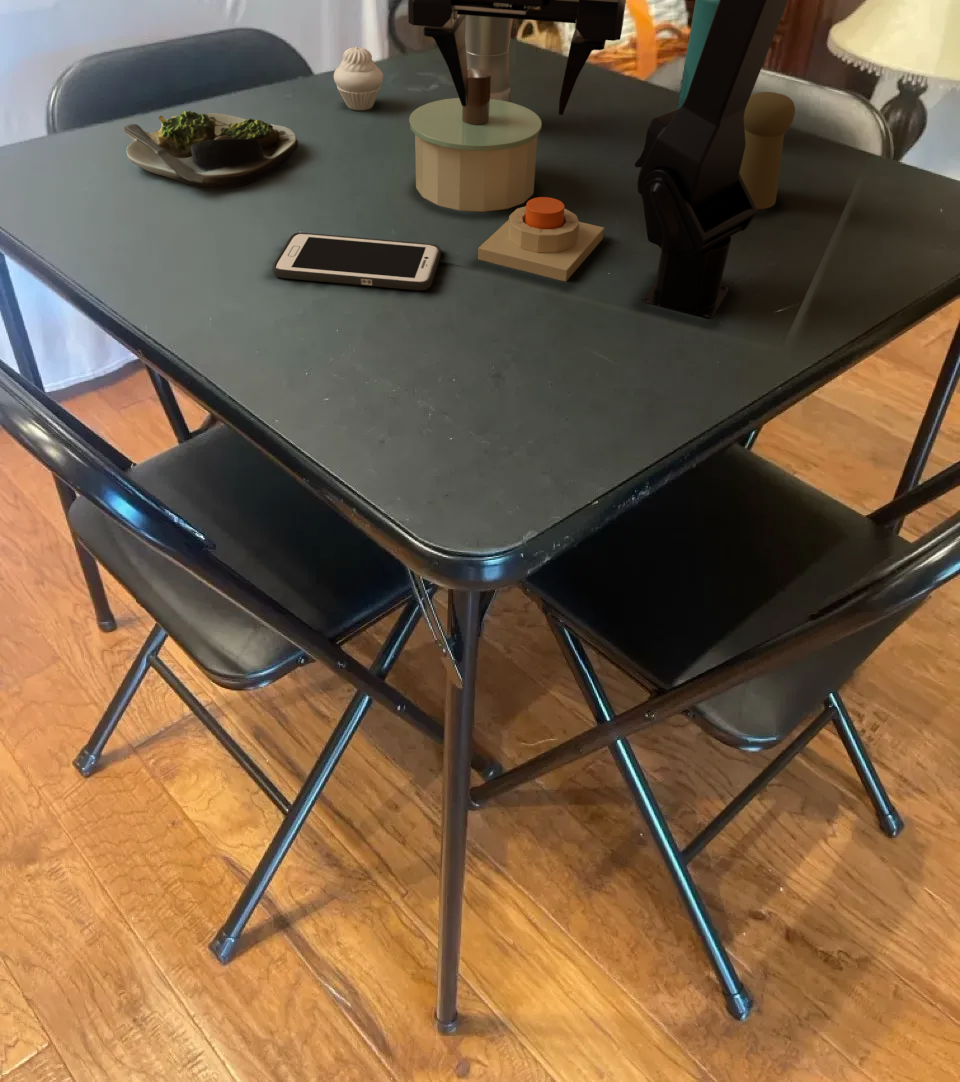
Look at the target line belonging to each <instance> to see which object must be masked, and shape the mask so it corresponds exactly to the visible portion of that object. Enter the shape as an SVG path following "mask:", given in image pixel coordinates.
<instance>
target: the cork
mask: <svg viewBox="0 0 960 1082" xmlns="http://www.w3.org/2000/svg"><path fill="white" fill-rule="evenodd" d="M795 114H796V107H795V103H794V101H793V100H792V98H790V97H789V96H788V95H786V94H783V93H778V92H775V91H773V92H772V91H759V92H755V93H752V94H751V96H750V98H749V101H748V103H747V106H746V109H745V113H744V128H745V141H746V146H745V150H744V155H743V159H742V163H741V167H740V171H739V174H740V176H741V178H742V180H743V182H744V184H745V186H746V188H747V190H748V192H749V194H750V196H751V198H752V200H753V202H754V204H755V206H756V208H757V210H766V209H769V208H772V207H773V206H774V205H775V204H776V201H777V196H778V195H777V194H778V188H779V181H780V180H779V179H780V171H781V165H782V164H781V163H782V154H783V146H784V139H785V133H786V132H787V131H788V130H789V129H790V127H791V126H792V124H793V121H794V119H795Z"/></svg>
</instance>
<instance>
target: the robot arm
mask: <svg viewBox="0 0 960 1082" xmlns="http://www.w3.org/2000/svg"><path fill="white" fill-rule="evenodd" d="M626 2H627V0H408V1H407V6H408V7H407V9H408V11H407V12H408V24H410V25H412V26H420V27H423V30H422V31H423V33H422V34H423V36H425V37H428V38H433V39H434V41H435V43H436V46H437V48H438V50H439V51H440V54H441V56H442V57H443V59H444V61H445V64H446V66H447V69H448V71H449V73H450V77H451V79H452V82H453V85H454V88H455V91H456V93H457V96H458V98H459V99H460V102H461V105H462V106H463V107H466V106H467V104H468V90H469V84H468V71H467V57H466V43H465V30H466V15H472V16H485V17H498V18H511V19H513V20H526V21H540V22H552V23H562V24H563V23H565V24H574V32H573V35H572V38H571V41H570V46H569V50H568V56H567V61H566V65H565V70H564V71H565V72H564V75H563V80H562V85H561V90H560V95H559V99H558V115H559V116H563V115H564V113H565V110H566V107H567V106H568V102H569V101H570V97H571V94H572V92H573V90H574V87H575V84H576V82H577V81H578V80H577V79H578V78H579V75H580V73H581V71H582V69H583V68H584V66H585V64H586V62H587V60H588V59H589V57H590V55H591V54H592V52H593V51H603V50H605V47H606V42H607V41H611V42H614V41H619V40H621V37H622V32H623V27H624V26H623V25H624V19H625V13H626V12H625V11H626V4H627V3H626ZM788 2H789V0H719V3H718V6H717V9H716V12H715V15H714V18H713V21H712V24H711V27H710V30H709V33H708V35H707V38H706V41H705V44H704V47H703V50H702V53H701V56H700V59H699V62H698V65H697V68H696V70H695V73H694V76H693V79H692V82H691V85H690V88H689V91H688V94H687V97H686V99H685V101H684V103H683V105H682V106H681V107H680V108H678V107H677V108H678V109H674V110H671V111H669V112H666V113H664V114H661V115H659V116H656V117H653V118H652V119H651V121H650V123H649V125H648V127H647V130H646V134H645V135H646V136H645V142H644V146H643V149H642V152H641V154H640V156H639V157H638V158H637V160H636V161H635V163H634V167H635V168H640V169H639V172H638V176H637V185H636V186H637V192H638V194H639V195H640V196H641V199H642V205H643V214H644V221H645V229H646V235H647V241H648V242H649V243H651V244H653V245H656V246H658V247H659V248H660V250H661V251H660V254H659V255H660V256H659V261H658V267H657V271H656V277H655V279H654V281H653V283H652V284H651V285H650V287H649V288H648V289H647V291H646V293H645V294H644V295H643V297H642V298H641V302H642V303H644V304H646V305H649V306H650V305H651V306H655V307H659V308H662V309H666V310H670V311H674V312H677V313H682V314H686V315H689V316H693V317H696V318H697V317H698V318H701V319H706V320H711V319H713V318H714V316H715V314H716V312H717V310H718V308H719V307H720V305H721V303H722V302H723V300H724V298H725V297H726V295H727V293H728V291H729V287H727V286H726V285H722V280H723V276H724V271H725V268H726V263H727V259H728V255H729V250H730V246H731V242H732V236H734V235H736V234H737V233H739V232H744V231H745V230H747V229H748V227H749V226H750V225H751V223H752V222H753V220H754V218H755V217H756V215H757V213H758V209H757V208H756V206H755V204H754V202H753V200H752V198H751V196H750V194H749V192H748V190H747V188H746V186H745V184H744V182H743V180H742V178H741V176H740V174H739V171H740V167H741V163H742V159H743V155H744V150H745V146H746V141H745V128H744V113H745V109H746V106H747V103H748V101H749V98H750V96H751V95H752V94H753V91H754V88H755V85H756V82H757V80H758V78H759V75H760V73H761V71H762V68H763V66H764V63H765V61H766V58H767V56H768V53H769V51H770V48H771V45H772V42H773V40H774V38H775V35H776V33H777V30H778V28H779V25H780V23H781V20H782V17H783V15H784V13H785V11H786V7H787V5H788ZM495 3H503V4H508V7H505V6H503V7H501V6H495ZM509 6H511V7H509ZM528 7H529V8H528ZM536 8H538V9H536ZM722 288H723V289H722ZM646 300H648V301H646ZM706 315H707V316H706Z"/></svg>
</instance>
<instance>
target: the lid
mask: <svg viewBox="0 0 960 1082" xmlns="http://www.w3.org/2000/svg"><path fill="white" fill-rule="evenodd" d="M467 71H468V84H469V90H468V104H467V106H466V107H463V106H462V105H461V102H460V99H459V97H453V98H445V99H440V100H435V101H432V102H428V103H425V104H423V105H420V106H419V107H417V108H416V109H414V110H413V111H412V112H411V114H410V115H409V118H408V125H409V129H410V130H411V132H412V133H413V134H414V136H415V135H417V136H418V137H420V138H421V139H423V140H425V141H428V142H430V143H433V144H436V145H439V146H444V147H448V148H454V149H461V150H474V151H486V150H500V149H507V148H512V147H517V146H520V145H523V144H526V143H528V142H530V141H532V140H534V139H535V138H536V137H537V136H538V137H539V136H540V134H541V131H542V126H543V125H542V119H541V117H540V116H538V114H537V113H535V112H534V110H531V109H529V108H527V107H525V106H523V105H520V104H518V103H514V102H512V101H511V102H507V101H502V100H496V99H490V85H491V73H490V72H488V71H486V70H482V69H469V70H467ZM538 137H537V138H538Z"/></svg>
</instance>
